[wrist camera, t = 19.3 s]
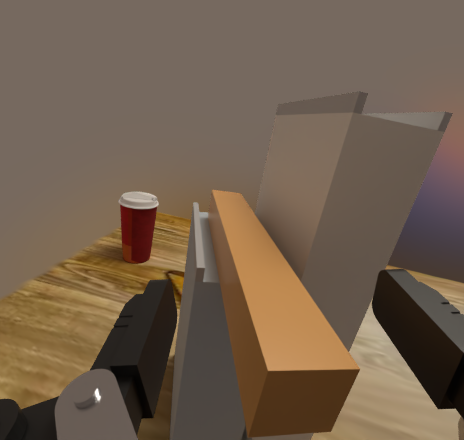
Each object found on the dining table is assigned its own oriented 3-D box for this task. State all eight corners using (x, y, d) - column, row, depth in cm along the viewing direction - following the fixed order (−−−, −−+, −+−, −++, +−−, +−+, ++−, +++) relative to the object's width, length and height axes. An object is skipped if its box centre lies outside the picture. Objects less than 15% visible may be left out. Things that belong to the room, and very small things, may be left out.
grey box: (232, 471, 24) (288, 273, 17) (167, 478, 23) (196, 267, 15) (217, 354, 36) (247, 208, 29) (174, 354, 35) (193, 202, 27)
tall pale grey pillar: (299, 464, 26) (452, 113, 14) (242, 470, 24) (359, 91, 13) (264, 354, 37) (332, 115, 26) (224, 354, 36) (278, 104, 25)
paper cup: (159, 252, 60) (163, 195, 55) (147, 268, 53) (151, 205, 48) (126, 246, 60) (128, 188, 55) (110, 262, 53) (110, 197, 48)
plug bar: (330, 431, 9) (360, 369, 8) (247, 437, 8) (267, 371, 7) (235, 220, 27) (240, 193, 26) (207, 217, 27) (211, 189, 26)
